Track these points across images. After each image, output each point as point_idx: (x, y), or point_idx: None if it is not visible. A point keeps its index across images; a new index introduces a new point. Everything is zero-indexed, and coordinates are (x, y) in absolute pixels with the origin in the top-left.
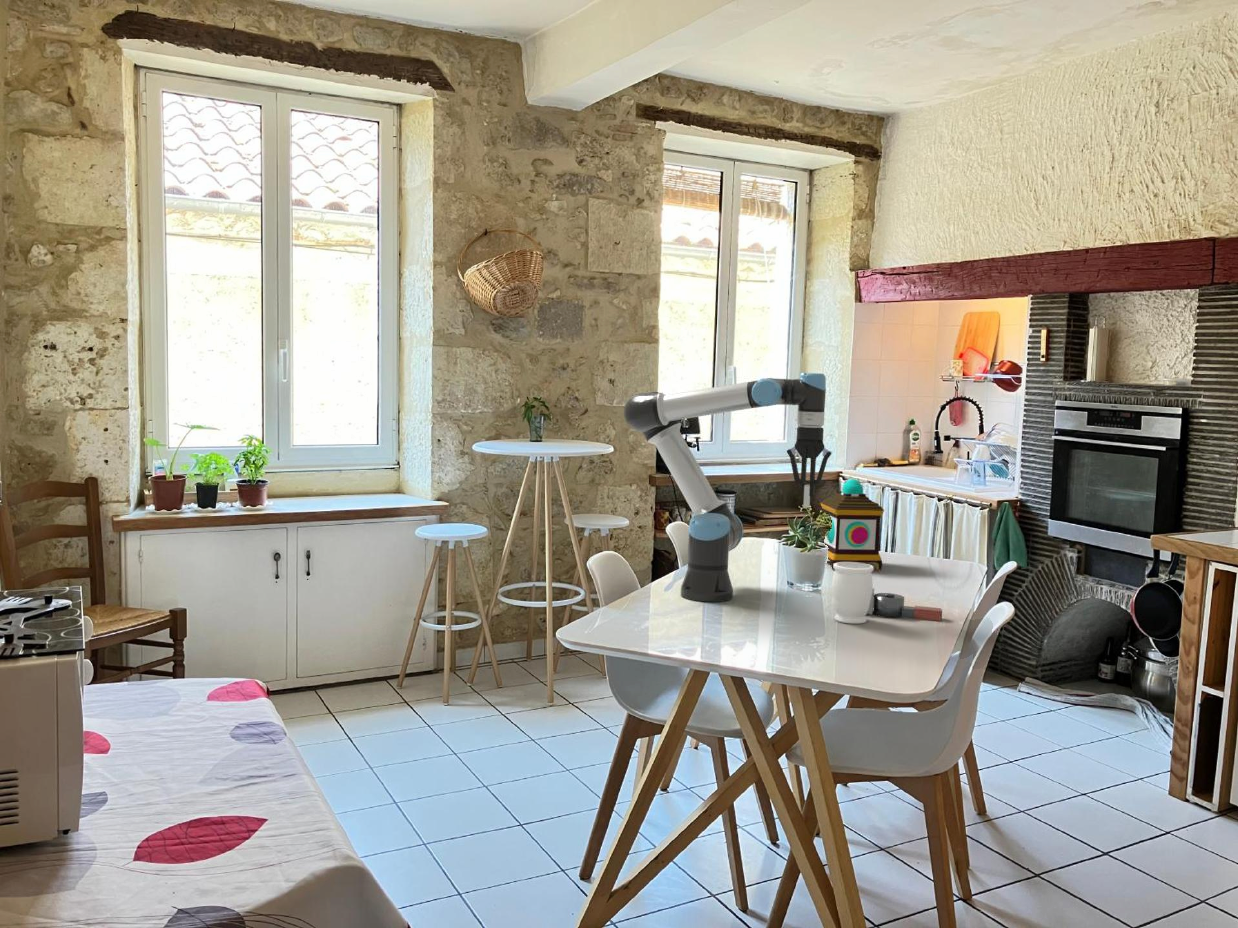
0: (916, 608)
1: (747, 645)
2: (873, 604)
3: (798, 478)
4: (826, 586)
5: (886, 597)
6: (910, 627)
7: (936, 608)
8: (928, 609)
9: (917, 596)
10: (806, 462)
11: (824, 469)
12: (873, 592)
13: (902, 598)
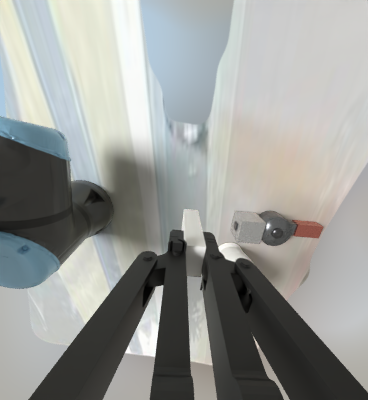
0: (296, 235)
1: (152, 327)
2: None
3: (152, 290)
4: (217, 102)
5: (272, 238)
6: (275, 259)
7: (317, 228)
8: (307, 235)
9: (328, 125)
10: (187, 375)
11: (299, 328)
12: (260, 239)
13: (288, 237)
